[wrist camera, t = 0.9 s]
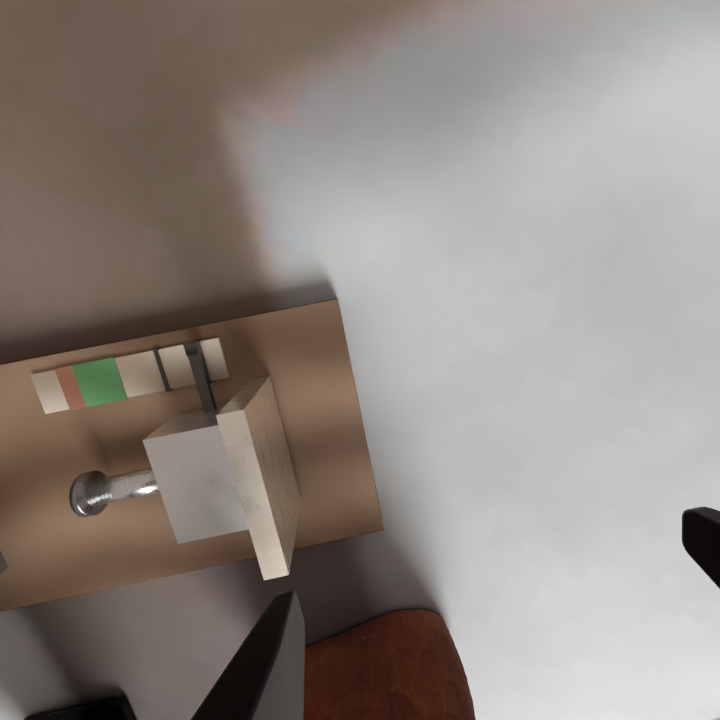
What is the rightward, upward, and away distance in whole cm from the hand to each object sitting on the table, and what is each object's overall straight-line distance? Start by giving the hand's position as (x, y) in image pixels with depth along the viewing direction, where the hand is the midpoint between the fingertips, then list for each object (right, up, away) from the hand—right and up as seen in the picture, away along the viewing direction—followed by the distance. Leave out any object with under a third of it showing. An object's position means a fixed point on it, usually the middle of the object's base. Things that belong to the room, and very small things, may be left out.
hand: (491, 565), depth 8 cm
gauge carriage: (-11, +1, +10) cm, 15 cm away
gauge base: (-15, -1, +12) cm, 19 cm away
